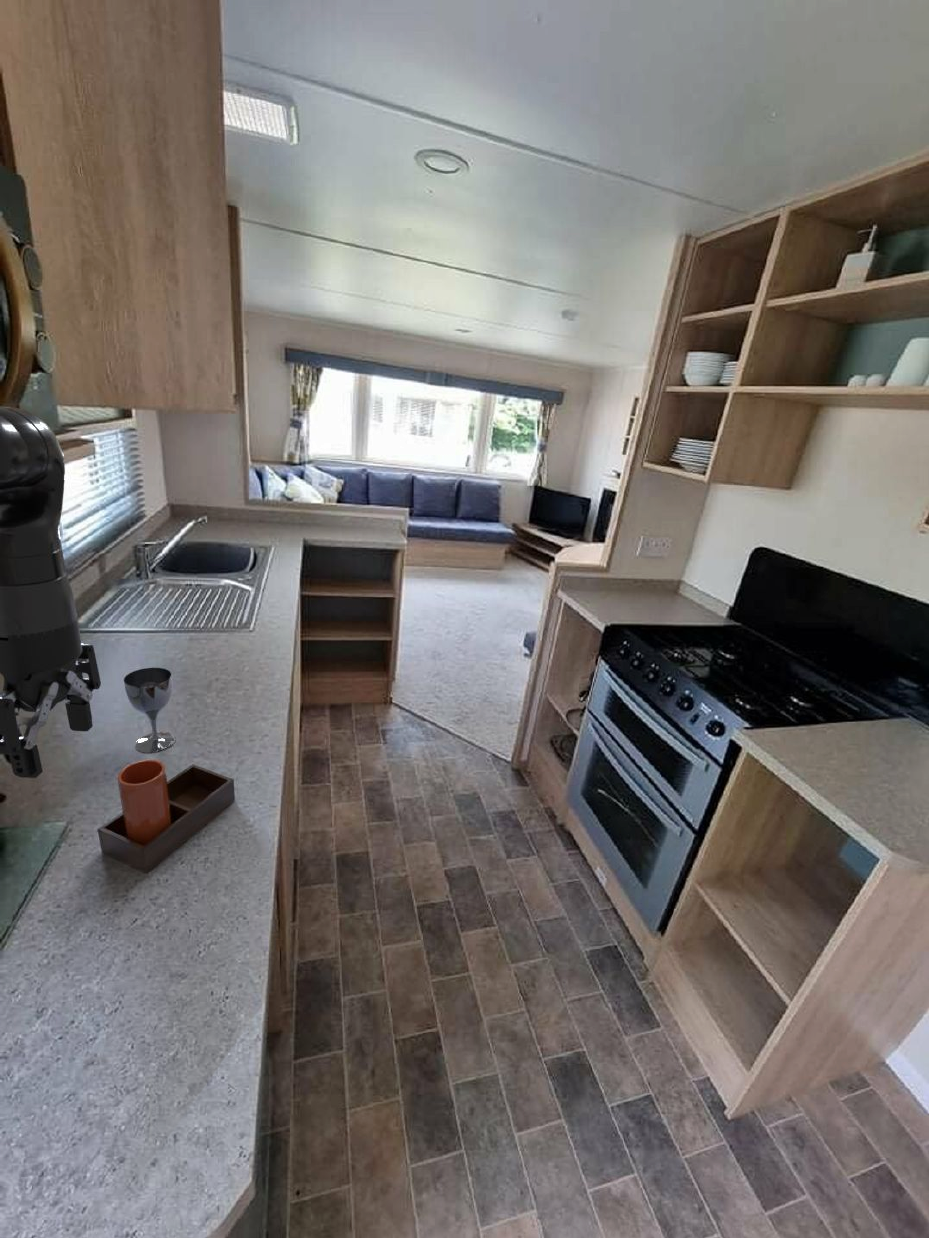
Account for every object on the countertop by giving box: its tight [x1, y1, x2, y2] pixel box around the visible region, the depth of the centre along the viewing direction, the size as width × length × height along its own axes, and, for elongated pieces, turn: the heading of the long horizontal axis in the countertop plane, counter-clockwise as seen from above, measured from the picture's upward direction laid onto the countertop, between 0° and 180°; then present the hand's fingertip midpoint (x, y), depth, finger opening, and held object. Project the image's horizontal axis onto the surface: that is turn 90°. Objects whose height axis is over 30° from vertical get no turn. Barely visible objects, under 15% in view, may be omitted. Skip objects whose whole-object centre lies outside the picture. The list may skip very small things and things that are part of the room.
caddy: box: [97, 763, 236, 874], centre depth 85 cm, size 9×18×5 cm, turn 160°
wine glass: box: [123, 667, 174, 754], centre depth 102 cm, size 8×8×15 cm
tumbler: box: [117, 759, 172, 846], centre depth 79 cm, size 6×6×13 cm
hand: (57, 751), depth 58 cm, fingers open, 8 cm apart
